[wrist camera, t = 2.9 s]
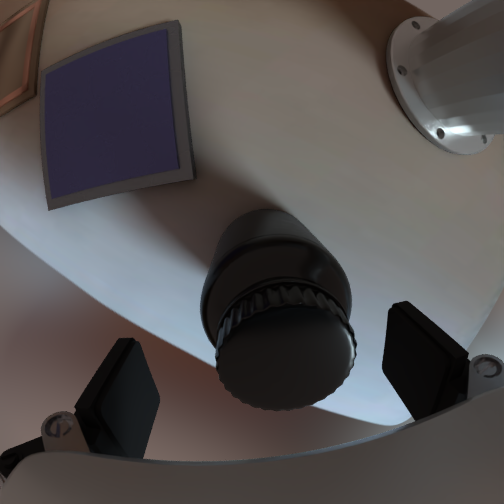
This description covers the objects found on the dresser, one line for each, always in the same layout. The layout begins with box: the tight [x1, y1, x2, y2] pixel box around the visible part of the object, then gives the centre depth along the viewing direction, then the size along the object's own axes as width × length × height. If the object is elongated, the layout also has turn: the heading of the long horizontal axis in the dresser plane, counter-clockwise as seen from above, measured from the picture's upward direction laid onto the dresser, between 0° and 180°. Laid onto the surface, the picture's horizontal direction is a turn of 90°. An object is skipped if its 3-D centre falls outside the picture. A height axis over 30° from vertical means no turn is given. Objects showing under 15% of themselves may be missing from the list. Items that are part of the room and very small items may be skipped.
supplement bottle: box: [200, 209, 357, 411], centre depth 14 cm, size 7×7×12 cm
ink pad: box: [40, 20, 197, 211], centre depth 16 cm, size 12×12×2 cm
